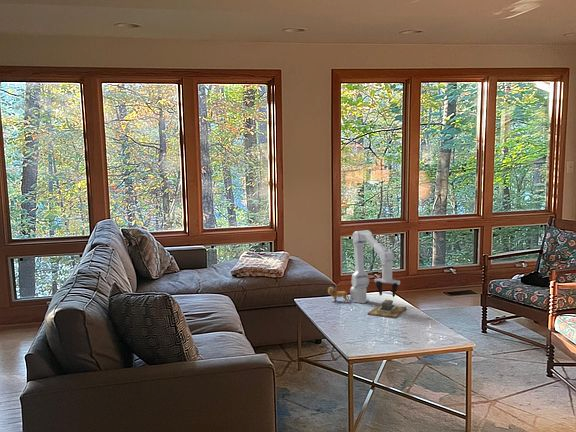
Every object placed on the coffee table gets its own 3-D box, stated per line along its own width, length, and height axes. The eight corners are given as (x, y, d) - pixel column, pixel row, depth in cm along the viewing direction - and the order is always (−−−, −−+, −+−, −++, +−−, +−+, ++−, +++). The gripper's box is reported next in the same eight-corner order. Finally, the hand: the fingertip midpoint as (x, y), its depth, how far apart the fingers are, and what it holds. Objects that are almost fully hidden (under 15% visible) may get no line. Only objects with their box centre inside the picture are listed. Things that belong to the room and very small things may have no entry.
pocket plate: (367, 314, 320) (367, 310, 320) (380, 305, 338) (380, 301, 337) (395, 318, 312) (395, 313, 312) (406, 308, 330) (406, 304, 330)
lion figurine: (327, 302, 348) (326, 287, 347) (329, 299, 353) (328, 285, 352) (350, 303, 344) (350, 289, 343) (352, 301, 349) (352, 286, 348)
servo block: (381, 311, 322) (381, 302, 321) (386, 307, 330) (386, 298, 329) (387, 312, 320) (387, 302, 319) (393, 308, 328) (393, 298, 327)
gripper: (372, 272, 322) (372, 296, 324) (397, 274, 315) (397, 298, 317) (376, 270, 328) (377, 293, 330) (401, 272, 321) (401, 295, 323)
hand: (387, 295), depth 324 cm, fingers open, 7 cm apart
